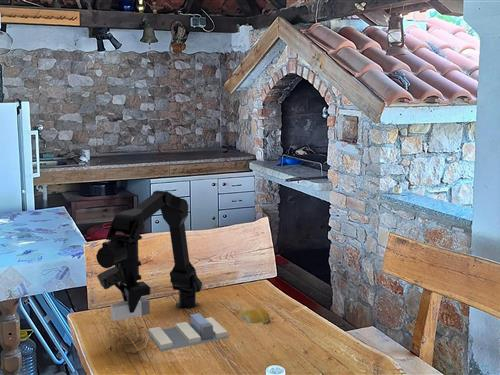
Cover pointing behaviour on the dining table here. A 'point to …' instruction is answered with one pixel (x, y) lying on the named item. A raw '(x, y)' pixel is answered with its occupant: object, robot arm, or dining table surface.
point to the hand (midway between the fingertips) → (129, 310)
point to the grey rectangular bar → (201, 326)
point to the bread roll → (256, 316)
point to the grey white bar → (122, 309)
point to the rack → (183, 335)
